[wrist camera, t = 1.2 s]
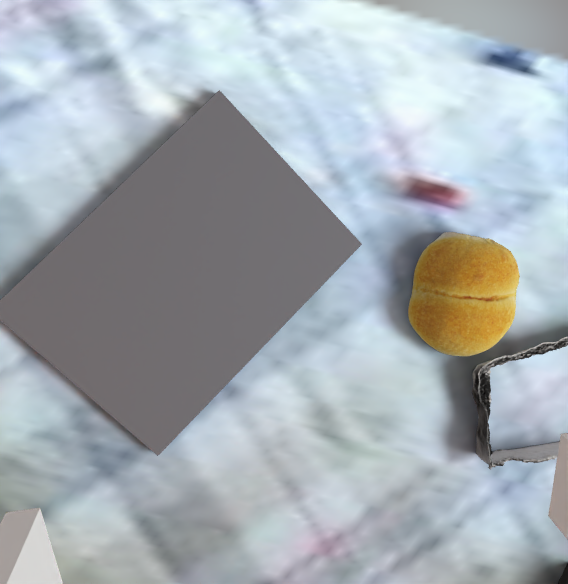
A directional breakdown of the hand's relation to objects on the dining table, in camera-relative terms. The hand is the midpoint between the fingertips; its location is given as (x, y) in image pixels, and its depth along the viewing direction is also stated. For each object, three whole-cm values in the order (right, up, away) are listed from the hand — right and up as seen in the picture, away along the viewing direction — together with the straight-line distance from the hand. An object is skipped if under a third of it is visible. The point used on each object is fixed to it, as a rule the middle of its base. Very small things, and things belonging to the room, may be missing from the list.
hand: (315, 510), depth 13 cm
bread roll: (+12, +6, +26) cm, 29 cm away
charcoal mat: (-7, +7, +21) cm, 23 cm away
